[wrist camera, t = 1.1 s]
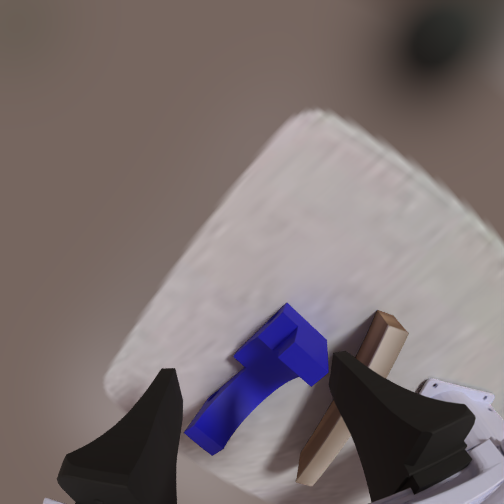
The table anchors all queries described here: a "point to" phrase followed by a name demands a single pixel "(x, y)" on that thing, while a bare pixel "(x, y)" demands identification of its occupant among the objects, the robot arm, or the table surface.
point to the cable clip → (261, 375)
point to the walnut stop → (332, 424)
